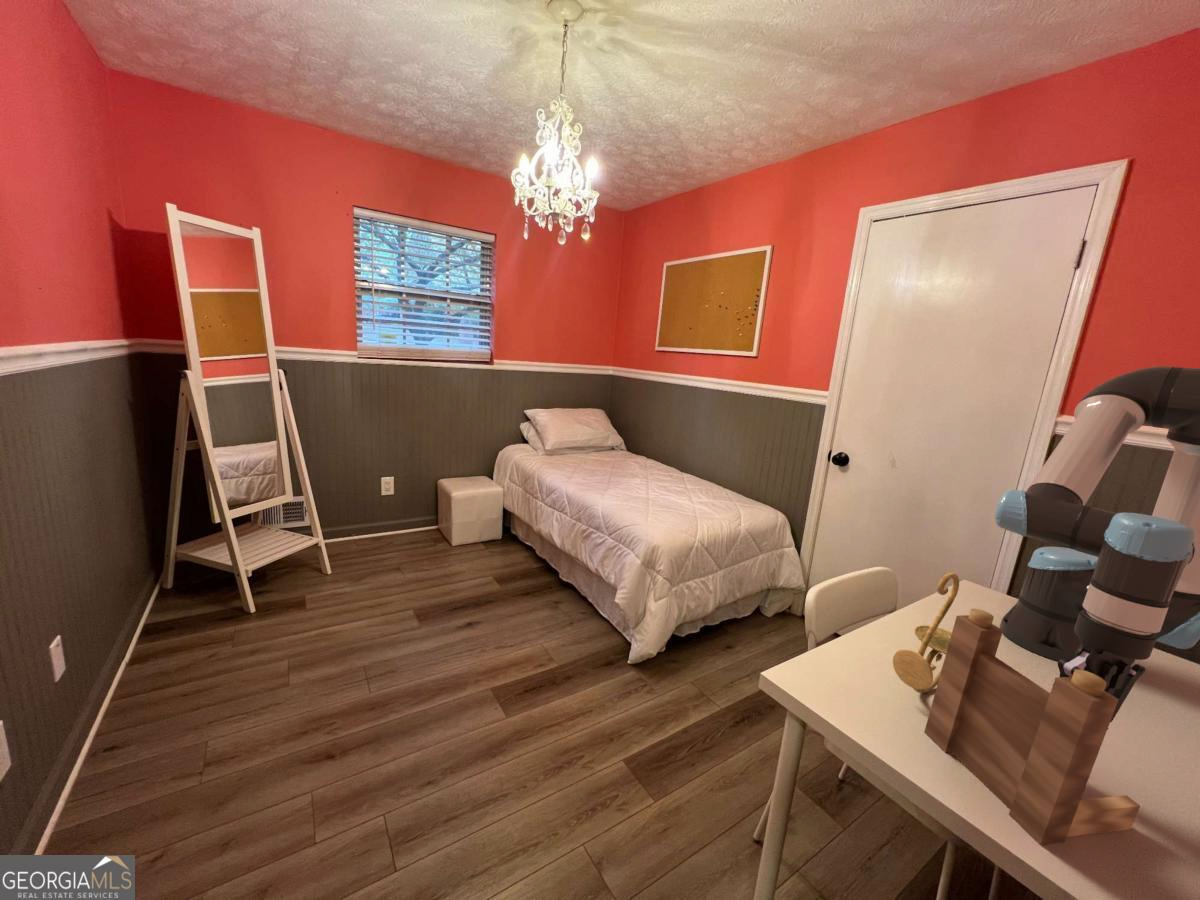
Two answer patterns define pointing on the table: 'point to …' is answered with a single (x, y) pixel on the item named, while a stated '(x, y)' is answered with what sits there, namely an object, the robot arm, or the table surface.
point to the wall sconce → (912, 663)
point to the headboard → (1025, 735)
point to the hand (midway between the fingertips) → (1068, 757)
